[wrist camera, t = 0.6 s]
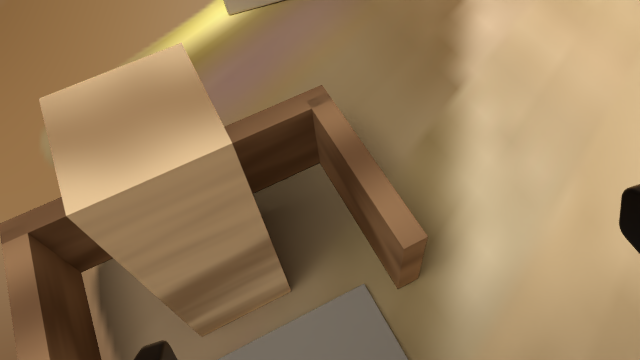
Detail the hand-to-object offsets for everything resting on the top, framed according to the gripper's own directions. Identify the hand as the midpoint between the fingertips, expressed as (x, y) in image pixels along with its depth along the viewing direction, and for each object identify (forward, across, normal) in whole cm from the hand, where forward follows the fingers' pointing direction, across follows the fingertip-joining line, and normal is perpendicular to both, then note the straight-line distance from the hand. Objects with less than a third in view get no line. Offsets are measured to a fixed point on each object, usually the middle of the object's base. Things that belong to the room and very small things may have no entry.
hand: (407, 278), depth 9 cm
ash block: (+15, +6, +10) cm, 19 cm away
